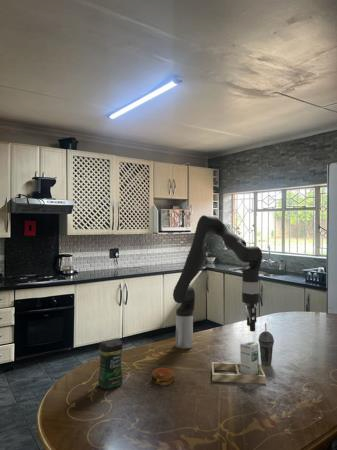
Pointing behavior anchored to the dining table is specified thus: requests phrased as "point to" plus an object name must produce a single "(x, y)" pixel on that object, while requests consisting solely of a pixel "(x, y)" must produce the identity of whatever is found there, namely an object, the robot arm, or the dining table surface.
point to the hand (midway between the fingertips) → (250, 328)
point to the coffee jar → (110, 363)
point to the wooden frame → (237, 376)
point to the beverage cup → (266, 347)
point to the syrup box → (249, 358)
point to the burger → (163, 376)
